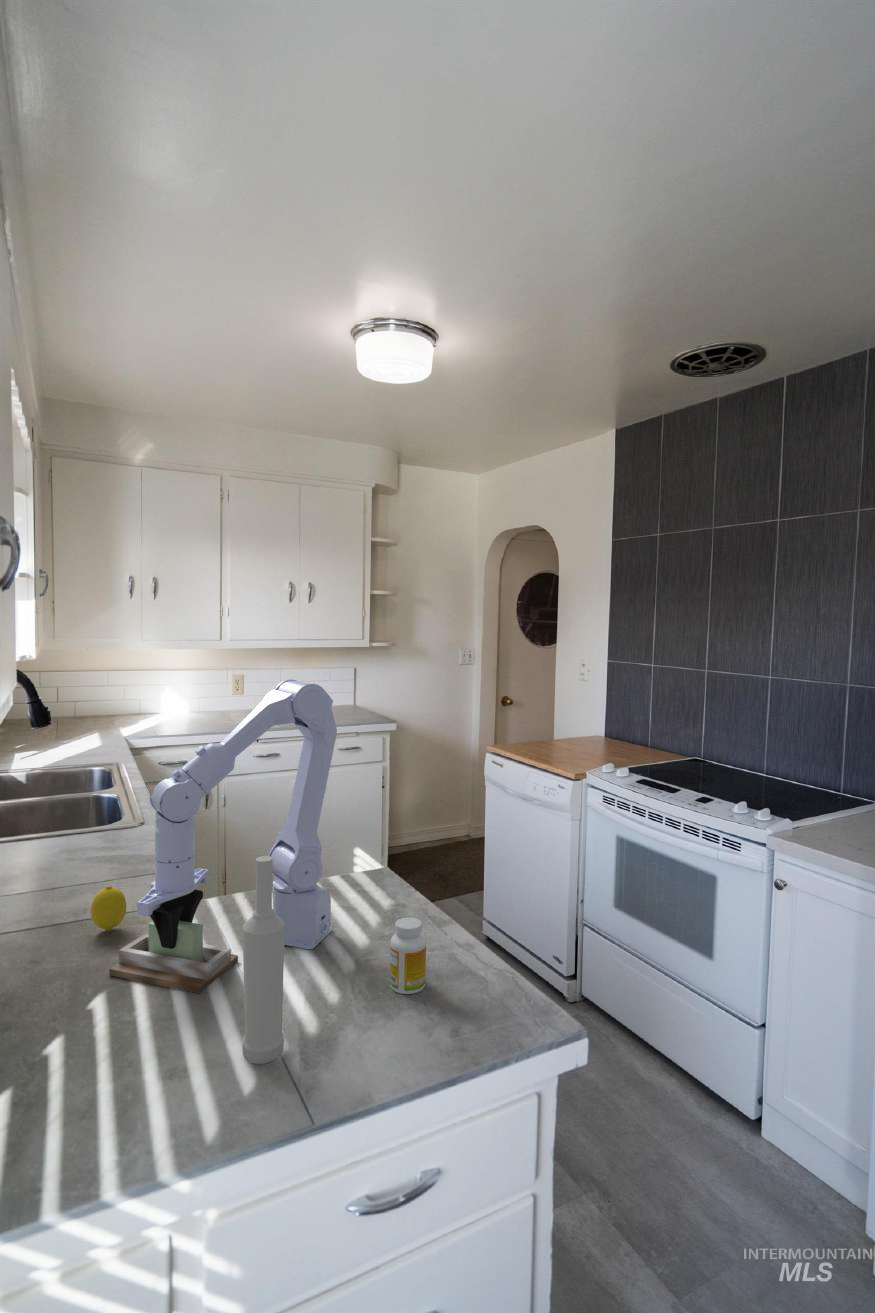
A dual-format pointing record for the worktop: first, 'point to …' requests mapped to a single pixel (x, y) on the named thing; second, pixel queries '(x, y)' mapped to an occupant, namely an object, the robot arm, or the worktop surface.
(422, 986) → the supplement bottle
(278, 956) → the bottle
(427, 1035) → the worktop surface
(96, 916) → the lemon
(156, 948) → the pale green rectangular block
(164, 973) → the track base
